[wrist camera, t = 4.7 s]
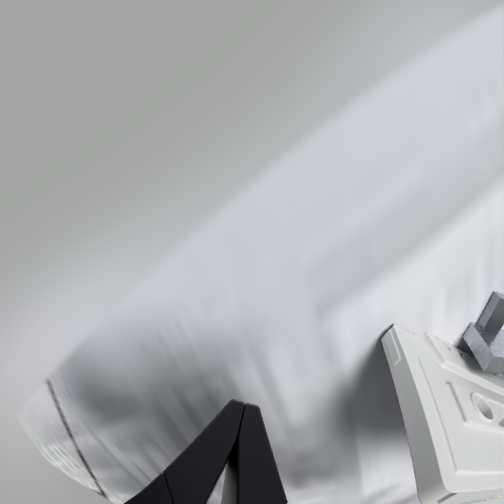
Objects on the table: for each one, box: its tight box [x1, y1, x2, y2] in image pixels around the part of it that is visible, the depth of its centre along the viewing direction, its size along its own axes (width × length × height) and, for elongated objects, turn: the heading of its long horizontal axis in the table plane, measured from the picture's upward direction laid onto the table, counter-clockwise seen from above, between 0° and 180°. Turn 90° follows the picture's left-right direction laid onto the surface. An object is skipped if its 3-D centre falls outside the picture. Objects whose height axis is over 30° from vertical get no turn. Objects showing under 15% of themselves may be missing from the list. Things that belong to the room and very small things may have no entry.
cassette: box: [381, 324, 504, 504], centre depth 8 cm, size 12×2×8 cm, turn 64°
